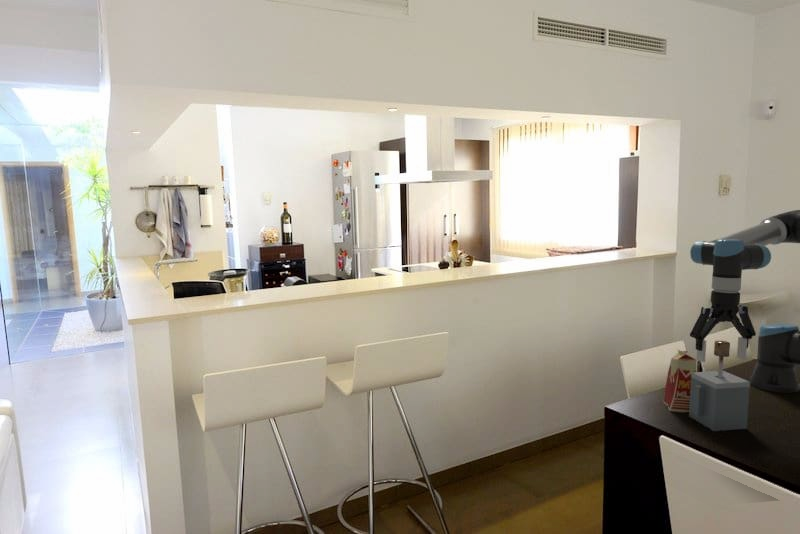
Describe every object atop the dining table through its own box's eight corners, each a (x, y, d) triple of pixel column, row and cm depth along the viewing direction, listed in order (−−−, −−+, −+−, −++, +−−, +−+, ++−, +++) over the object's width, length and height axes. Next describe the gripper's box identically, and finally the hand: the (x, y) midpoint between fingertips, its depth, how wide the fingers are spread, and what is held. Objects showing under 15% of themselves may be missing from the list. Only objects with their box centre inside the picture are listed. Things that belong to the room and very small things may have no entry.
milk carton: (700, 413, 177) (704, 353, 174) (669, 411, 178) (672, 351, 176) (691, 403, 185) (695, 345, 183) (662, 401, 187) (665, 344, 185)
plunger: (719, 413, 174) (724, 338, 171) (739, 423, 166) (744, 345, 163) (696, 414, 173) (700, 339, 170) (714, 425, 165) (719, 346, 162)
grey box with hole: (720, 414, 176) (723, 370, 174) (746, 428, 165) (750, 381, 163) (683, 417, 174) (685, 372, 172) (707, 431, 163) (710, 384, 161)
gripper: (753, 287, 170) (748, 354, 173) (679, 290, 166) (675, 358, 169) (773, 291, 163) (767, 361, 165) (696, 294, 159) (692, 365, 162)
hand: (721, 359), depth 167 cm, fingers open, 13 cm apart
